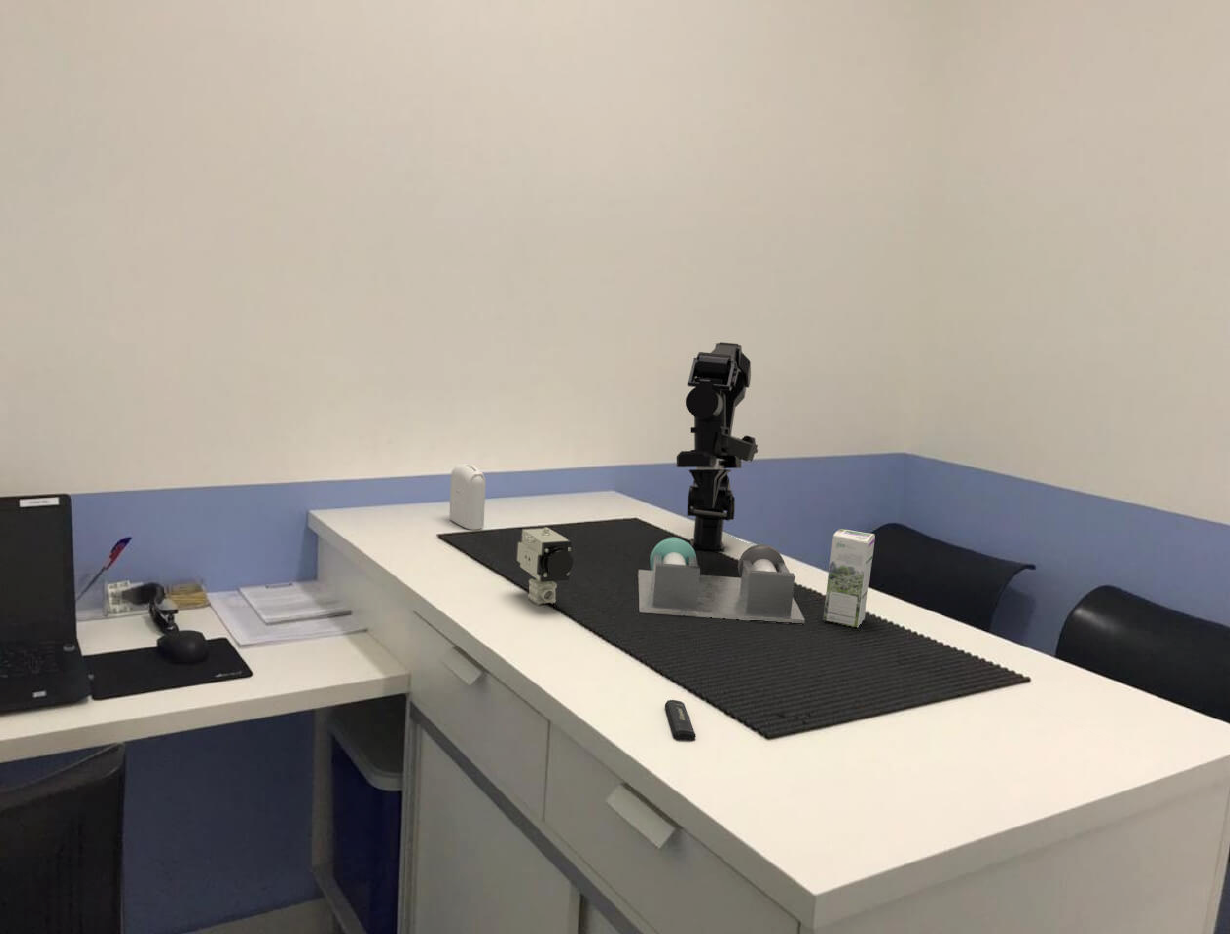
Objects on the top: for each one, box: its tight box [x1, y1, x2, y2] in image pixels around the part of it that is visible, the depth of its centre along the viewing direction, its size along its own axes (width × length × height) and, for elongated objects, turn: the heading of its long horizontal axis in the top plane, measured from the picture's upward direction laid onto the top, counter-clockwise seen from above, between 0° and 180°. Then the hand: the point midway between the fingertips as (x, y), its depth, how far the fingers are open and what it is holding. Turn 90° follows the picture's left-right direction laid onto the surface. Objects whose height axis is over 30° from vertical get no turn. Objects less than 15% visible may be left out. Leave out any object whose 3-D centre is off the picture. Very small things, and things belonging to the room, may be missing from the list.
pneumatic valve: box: [515, 527, 574, 606], centre depth 163 cm, size 6×12×12 cm, turn 29°
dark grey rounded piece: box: [737, 543, 786, 578], centre depth 170 cm, size 11×8×8 cm
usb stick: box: [664, 699, 696, 742], centre depth 122 cm, size 10×3×2 cm, turn 4°
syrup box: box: [822, 528, 876, 629], centre depth 165 cm, size 6×6×14 cm
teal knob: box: [650, 537, 698, 571], centre depth 170 cm, size 11×8×8 cm
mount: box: [637, 553, 806, 624], centre depth 173 cm, size 22×26×7 cm
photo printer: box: [449, 463, 487, 531], centre depth 209 cm, size 10×4×12 cm, turn 32°
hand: (710, 507), depth 188 cm, fingers closed
